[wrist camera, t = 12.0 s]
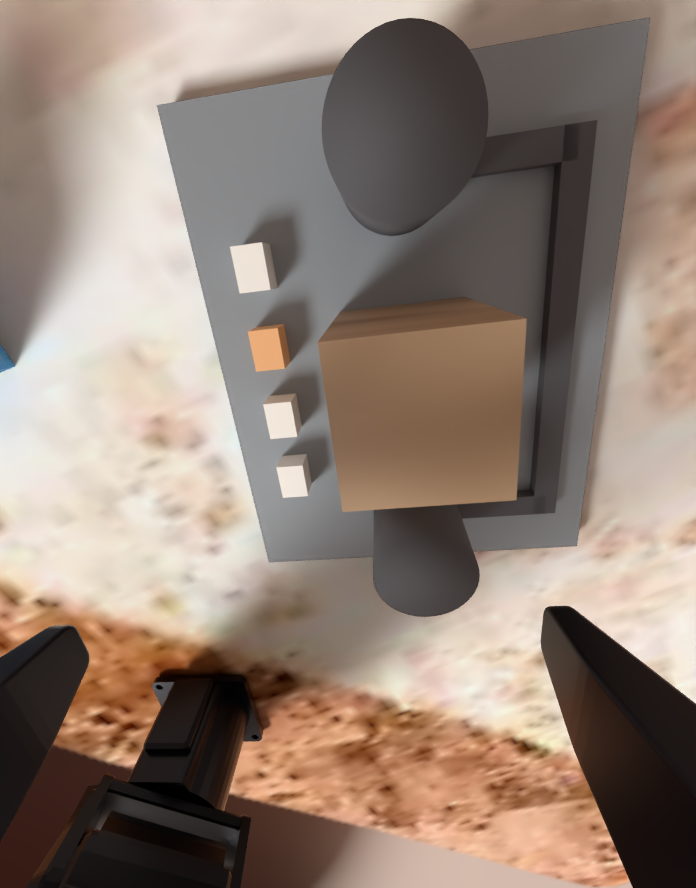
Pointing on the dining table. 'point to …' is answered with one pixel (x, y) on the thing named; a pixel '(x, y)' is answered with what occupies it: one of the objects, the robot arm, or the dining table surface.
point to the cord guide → (412, 205)
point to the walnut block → (424, 403)
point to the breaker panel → (394, 270)
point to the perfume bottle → (5, 360)
